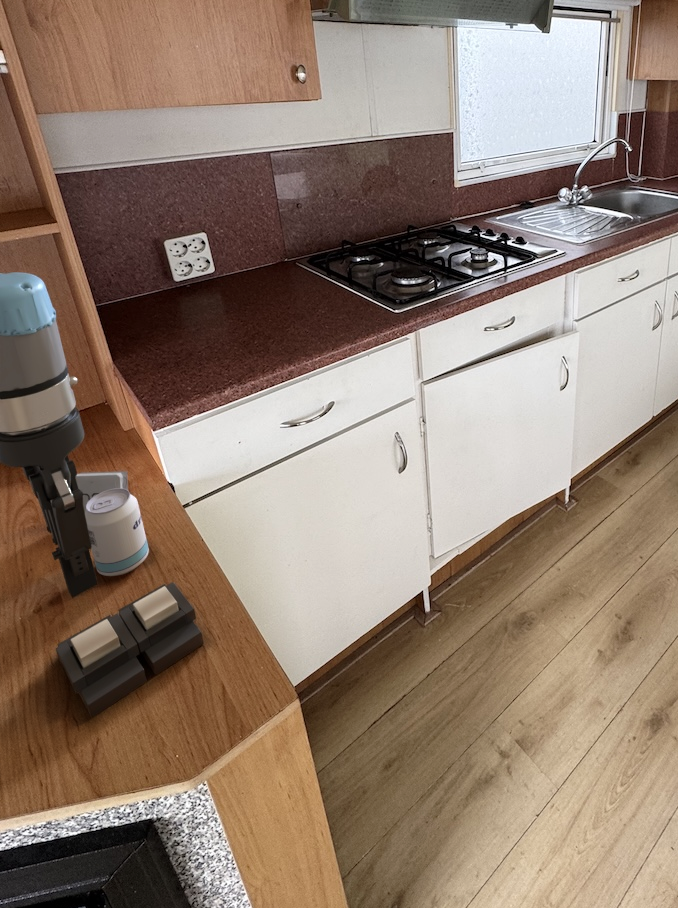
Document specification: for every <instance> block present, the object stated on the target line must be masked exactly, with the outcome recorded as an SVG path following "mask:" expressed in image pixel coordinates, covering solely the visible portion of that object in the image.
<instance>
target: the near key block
mask: <svg viewBox="0 0 678 908" xmlns="http://www.w3.org/2000/svg"><path fill="white" fill-rule="evenodd" d="M106 619H107V620H108V621H109V623H110V625H111V626H112V628H113V629H114V631H115V633H116V634H117V636H118V639H119V642H120V647H119V648H117V649H115V650H114V651H112V652H110V653H109V654H107V655H105V656H104V657H102V658H100V659H99V660H97V661H95V662H94V663H92V664H90V665H89V666H87V667H85V668H84V669H83V667H82V665H81V663H80V661H79V659H78V657H77V655H76V653H75V651H74V650H73V646H72V643H71V639H72V638H74V637H76V636H77V635H79V634H81V633H83V632H84V631H86V630H88V629H90V628H91V627H93V626H95V625H97V624H98V623H100V622H102V621H104V620H106ZM55 652H56V654H57V658H58V660H59V662H60V664H61V666H62V668H63V671H64V672H65V674H66V677H67V678H68V681H69V682H70V684H71V687H72V689H73V691H74V692H75V694H78V695H79V696H80V698H81V700H82V702H83V704H84V706H85V709H86V710H87V712H88V715H89V716H90V718H91V719H92V718H94V717H96V716H97V715H99V714H100V713H102V712H104V711H105V710H106V709H108V708H109V707H111V706H112V705H114V704H116V703H117V702H119V701H120V700H122V699H123V698H124V697H126V696H128V695H130V693H132V692H133V691H135V690H137V689H138V688H140V687H141V686H142V685H144V684H145V683H147V676H146V672H145V669H144V667H143V665H142V664H141V662H140V661H139V659H138V658H137V656H139V655H140V654H141V653H140V651H139V649H138V645H137V643H136V641H135V640H134V638H133V636H132V635H131V633H130V632H129V630H128V629H127V627H126V625H125V624H124V622H123V621H122V619H121V618H120V616H119V612H118V613H115V614H114V615H110V614H109V615H107V616H105V617H103V618H102V619H99V620H97V621H96V622H94V623H92V624H90V625H89V626H87V627H85V628H84V629H82V630H80V631H78V632H77V633H74V634H73V635H72V636H69V637H68V638H66V639H63V640H62V641H60V642H59V643H57V646H56V647H55Z"/></svg>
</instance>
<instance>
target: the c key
mask: <svg viewBox="0 0 678 908" xmlns="http://www.w3.org/2000/svg"><path fill="white" fill-rule="evenodd" d="M71 643H72V646H73V650H74V651H75V653H76V655H77V657H78V659H79V661H80V663H81V665H82V667H83V669H84V668H85V667H87V666H89V665H90V664H92V663H94V662H95V661H97V660H99V659H100V658H102V657H104V656H105V655H107V654H109V653H110V652H112V651H114V650H115V649H117V648H119V647H120V642H119V639H118V636H117V634H116V633H115V631H114V629H113V628H112V626H111V625H110V623H109V621H108V620H107V619H106V620H104V621H102V622H100V623H98V624H97V625H95V626H93V627H91V628H90V629H88V630H86V631H84V632H83V633H81V634H79V635H77V636H76V637H74V638H72V639H71Z"/></svg>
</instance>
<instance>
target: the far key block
mask: <svg viewBox="0 0 678 908" xmlns="http://www.w3.org/2000/svg"><path fill="white" fill-rule="evenodd" d="M164 586H165V587H166V588H167V590H168V591H169V592H170V594H171V595H172V596H173V598H174V599H175V600H176V602H177V605H178V610H179V611H178V612H176V613H175V614H173V615H171V616H170V617H168V618H166V619H165V620H163V621H161V622H160V623H158V624H156V625H155V626H153V627H151V628H150V629H148V630H146V629H145V627H144V626H143V624H142V623H141V622H140V620H139V619H138V617H137V616H136V614H135V611H134V607H133V604H134V603H136V602H137V601H139V600H141V599H143V598H145V597H146V596H148V595H150V594H152V593H153V592H155V591H157V590H159V589H160V588H162V587H164ZM118 614H119V616H120V618H121V619H122V621H123V622H124V624H125V625H126V627H127V629H128V630H129V632H130V633H131V635H132V636H133V638H134V640H135V641H136V643H137V645H138V649H139V653H140V654H141V655H142V656H143V658H144V660H145V662H146V663H147V664H148V666H149V667H150V669H151V671H152V673H153V674H154V676H158V675H159V674H160V673H162V672H164V671H165V670H167V669H168V668H170V667H171V666H173V665H174V664H176V663H177V662H179V661H181V660H182V659H183V658H185V657H186V656H188V655H189V654H192V652H194V651H195V650H197V649H198V648H200V647H202V646H203V645H204V644H205V643H204V637H203V633H202V631H201V629H200V628H199V626H198V625H197V624H196V622H195V621H194V620H196V619H197V616H196V615H197V614H196V610H195V608H194V606H193V604H192V603H190V601H189V600H188V599H187V597H186V596H185V595H184V594H183V592H182V591H181V590H180V588H179V587H178V586H177V585H176V583H175V582H174V581H172V582H170V583H168V584H166V583H164V584H162V585H160V586H158V587H156V588H155V589H152V590H151V591H149V592H148V593H146V594H144V595H142V596H140V597H139V598H136V599H135V600H134V601H132V602H130V603H128V604H126V605H124V606H122V607H121V608H119V609H118Z"/></svg>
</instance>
